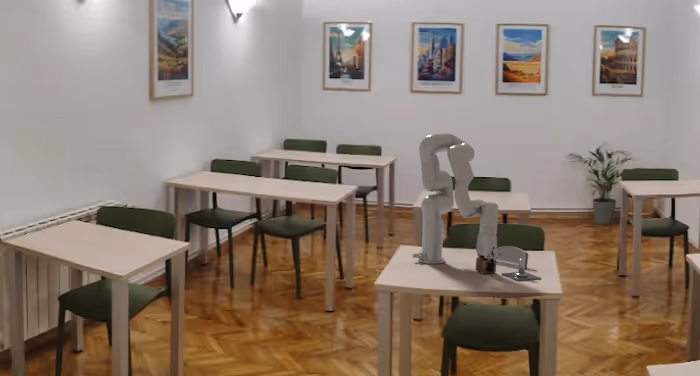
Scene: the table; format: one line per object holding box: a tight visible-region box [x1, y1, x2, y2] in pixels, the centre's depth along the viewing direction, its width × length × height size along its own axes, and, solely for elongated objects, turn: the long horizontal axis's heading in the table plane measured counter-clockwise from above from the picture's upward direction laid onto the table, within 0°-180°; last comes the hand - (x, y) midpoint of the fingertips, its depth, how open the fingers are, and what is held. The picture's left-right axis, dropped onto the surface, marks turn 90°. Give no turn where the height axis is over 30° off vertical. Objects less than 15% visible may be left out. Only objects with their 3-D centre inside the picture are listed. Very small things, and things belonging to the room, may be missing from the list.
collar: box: [475, 257, 497, 275], centre depth 354 cm, size 6×6×6 cm
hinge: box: [496, 245, 529, 270], centre depth 369 cm, size 17×5×10 cm, turn 47°
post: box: [501, 258, 542, 282], centre depth 347 cm, size 12×12×8 cm
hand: (485, 269), depth 354 cm, fingers closed on collar, 6 cm apart
